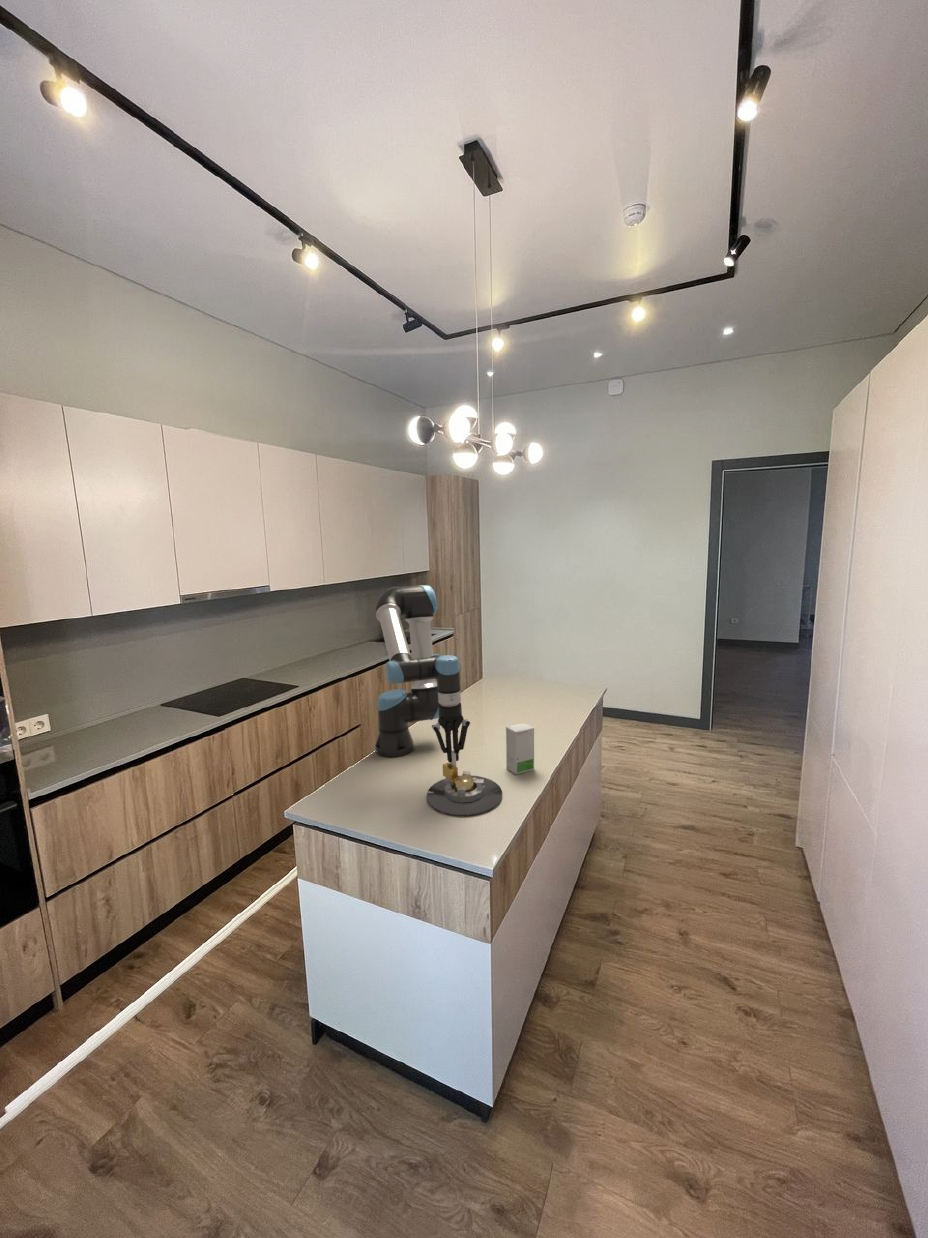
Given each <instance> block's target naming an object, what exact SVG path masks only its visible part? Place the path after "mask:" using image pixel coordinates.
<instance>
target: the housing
mask: <svg viewBox="0 0 928 1238" xmlns="http://www.w3.org/2000/svg"><path fill="white" fill-rule="evenodd" d="M473 778H477V779H484V786H485V793H484V795H483V796H482V797H481V798H480V799H478V800H475V801H473V802H464V803H460V802H455V801H451V800H450V799H448V798H447V797H445V791H444V781H445V778H443V779H441V780H438V781H437V782H435V783H433V785H431V786H430V787H429V788H428V790H427V793H426V800H427V803H428V806H430V808H432V809H433V810H435V811H436V812H437V813H439V814H443V815H447V816H450V817H451V816H452V817H461V818H462V817H467V818H468V817H473V816H479V815H484V814H486V813H488V812H490V811H493V810H494V809H495V808H497V807H498V806H499V805H500V804H501V803H502V800H503V790H502V788H501V786H500V785H499V784H498V783H496V782H495V781H494V780H492V779H490V778H487V777H484V776H479V775H471V776H468V775H458V777H456V778H455V788H454V789H453V790H454V791H456V792H457V789H458V787H466V792H471V791H474V790H475V789H476V788H474V779H473Z"/></svg>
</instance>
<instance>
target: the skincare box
mask: <svg viewBox="0 0 928 1238" xmlns="http://www.w3.org/2000/svg"><path fill="white" fill-rule="evenodd" d="M505 732H506V734H505V741H506V742H505V743H506V745H505V746H506V748H505V751H506V757H505V759H506V769H508V770H509V771H510V772H511V773H513V774H514V775H519V774H523V773H527V772H531V771H534V770H535V728H534V727H533V726H531V725H529V724H528V723H525V722H524V723H517V724H512V725H507V726H505Z"/></svg>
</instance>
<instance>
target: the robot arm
mask: <svg viewBox="0 0 928 1238" xmlns="http://www.w3.org/2000/svg"><path fill="white" fill-rule="evenodd" d="M437 611H438V599H437V596H436V593H435V591H434V589H433V588H432V586H430V585H421V584H418V585H404V586H391V587H389V588H388V589H386V590H384V591H383V592H382V593H381V594H380V595H379V597H378V599H377V600H376V603H375V607H374V613H375V617H376V620H377V621H378V622H379V623H380V627H381V631H382V636H383V640H384V642H385V643H384V644H385V648H386V651H387V656H388V660H389V661H387V662H386V663H385V676H386V681H387V682H388V683H389V684H403V683H410V682H413V684H412V685H411V686H410V692H408V691H407V690H405V689H402V688H400V689H398V688H395V689H390V690H387V691H384V692H383V693H381V694H380V695H379V696H378V697H377V701H376V705H377V706H376V710H377V719H378V720H377V722H378V733H377V734H378V735H377V738H376V741H375V748H374V749H375V753H376V755H378V756H381V757H384V758H398V757H402V756H405V755H407V754H410V753H411V752H413V751H414V749H415V743H414V740H413V738H412V735H411V732H410V729H409V723H416V722H423V721H433V720H437V722H436V723H435V724H432V725H431V728H432V730H433V732H435V735H436V738H437V740H438V745H439V747H440V750H441V752H442V753H444V754H446V759H447V761H448V762H449V763H451V764H452V765H454V766H456V767H457V762H459V760H460V758H459V756H460V755H459V753H460V751H462V750H464V748H465V743H466V739H467V738H466V737H467V734H468V728H469V727H470V726H471V722H470V721H469V720H468V719H465V718H464V716H463V713H462V712H463V711H462V708H463V707H462V703H461V702H462V694H461V675H460V674H461V672H460V670H461V666H460V662H459V660H460V659H459V658H458V657H457V656H455V655H452V654H449V655H448V654H447V655H442V654H439V653H434V651H433V649H434V648H433V637H432V636H433V635H432V627H431V625H432V624H431V622H432V620H433V619H434V618H435V617H434V616H435V614H436V613H437ZM401 616H404V621H406V622H407V623H408V625H409V636H410V648H409V644H408V640H407V638H406V637H407V636H406V634H405V630H404V627H403V624H402V621H401ZM410 649H411V652H410ZM460 726H461V729H460V735H459V728H460ZM441 728H442V729H443V730H444V733H445V735H444V737H445V741H444V739H443V736H442V733H441V732H440V730H441ZM451 735H452V736H451ZM376 751H377V752H376ZM448 762H447V763H448Z"/></svg>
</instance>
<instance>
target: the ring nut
mask: <svg viewBox="0 0 928 1238" xmlns="http://www.w3.org/2000/svg"><path fill="white" fill-rule="evenodd" d="M458 772H459V767H458V766H457V765H456V766H454V765H452V764H451V763H449V762H446V763H443V764H442V776H443V777H444V779H445V781H444V791H445V797H447V798H448V799H450V800H451V801H455V802H460V803H464V802H473V801H475V800H478V799H480V798H481V797H482V796H483V795H484V793H485V786H484V779H477V778H473V779H474V788H476V789H475V790H474V791H471V792H466V787H458V789H457V792H456V791H454V790H453V789H454V788H455V778H456V777H458V776H459V773H458ZM462 775H468V776H471V771H470V770H469V771H467V770H463V771H462Z"/></svg>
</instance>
